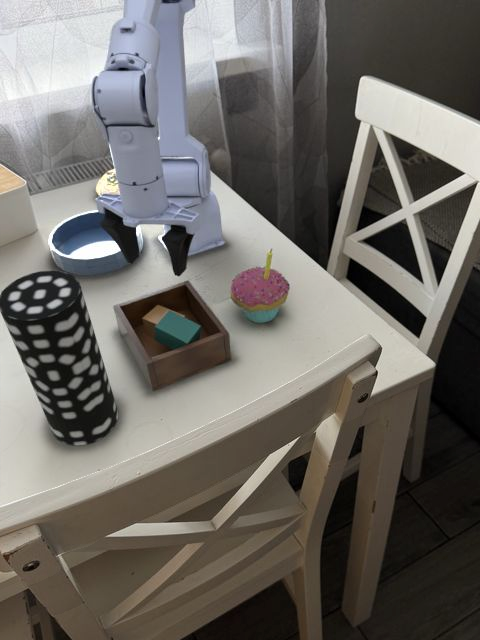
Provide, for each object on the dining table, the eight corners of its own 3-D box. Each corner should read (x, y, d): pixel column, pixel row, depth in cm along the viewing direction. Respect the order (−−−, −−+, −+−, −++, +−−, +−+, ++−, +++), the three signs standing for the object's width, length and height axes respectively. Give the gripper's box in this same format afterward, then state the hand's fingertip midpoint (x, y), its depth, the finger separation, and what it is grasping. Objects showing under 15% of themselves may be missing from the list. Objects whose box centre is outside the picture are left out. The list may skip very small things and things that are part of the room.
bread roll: (125, 170, 124) (122, 148, 120) (165, 191, 120) (163, 169, 116) (85, 194, 118) (80, 172, 114) (125, 217, 114) (122, 195, 110)
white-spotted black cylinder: (57, 397, 78) (8, 273, 64) (121, 392, 78) (85, 267, 65) (45, 448, 72) (-12, 323, 58) (115, 442, 72) (74, 317, 59)
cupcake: (296, 301, 91) (296, 234, 83) (278, 337, 85) (277, 268, 77) (243, 291, 93) (238, 224, 85) (223, 325, 87) (216, 257, 79)
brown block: (160, 320, 88) (157, 304, 86) (187, 331, 86) (185, 315, 84) (145, 334, 86) (141, 318, 84) (172, 345, 84) (169, 329, 82)
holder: (192, 306, 91) (188, 279, 88) (231, 360, 82) (229, 333, 79) (119, 331, 87) (112, 305, 84) (152, 391, 78) (146, 364, 75)
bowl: (126, 218, 110) (122, 201, 108) (156, 259, 100) (153, 241, 98) (44, 242, 105) (38, 225, 103) (67, 287, 95) (61, 269, 93)
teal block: (168, 323, 82) (169, 309, 80) (199, 339, 82) (201, 325, 79) (154, 340, 80) (154, 326, 78) (186, 356, 80) (187, 343, 77)
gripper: (71, 178, 72) (96, 269, 82) (174, 200, 68) (188, 294, 77) (105, 154, 77) (125, 243, 86) (203, 173, 72) (213, 265, 82)
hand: (156, 265), depth 82 cm, fingers open, 7 cm apart
